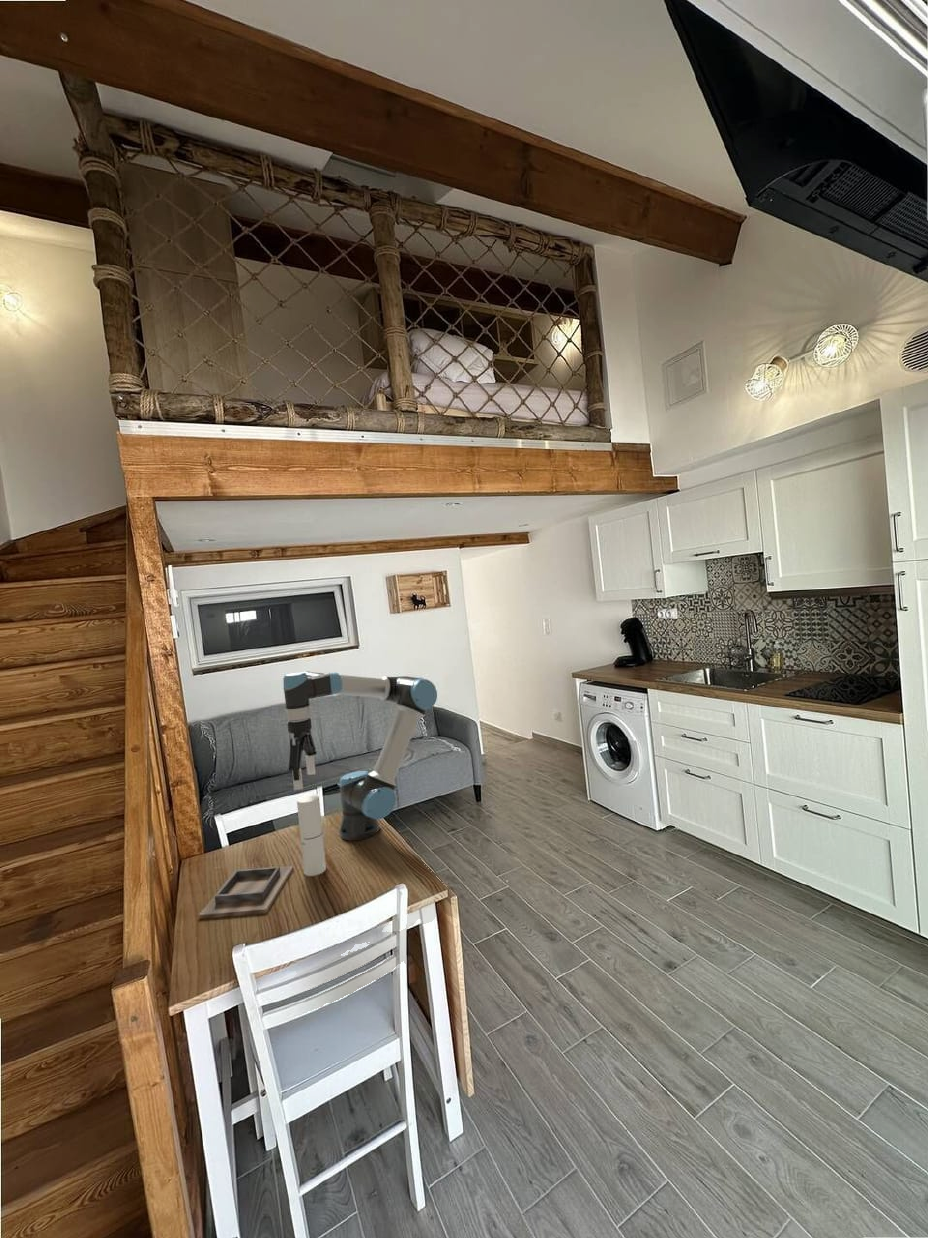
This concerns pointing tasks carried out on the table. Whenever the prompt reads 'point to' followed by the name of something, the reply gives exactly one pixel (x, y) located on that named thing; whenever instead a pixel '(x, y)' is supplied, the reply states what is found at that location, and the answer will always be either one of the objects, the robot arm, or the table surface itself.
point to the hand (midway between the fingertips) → (305, 781)
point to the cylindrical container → (311, 834)
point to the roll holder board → (247, 892)
